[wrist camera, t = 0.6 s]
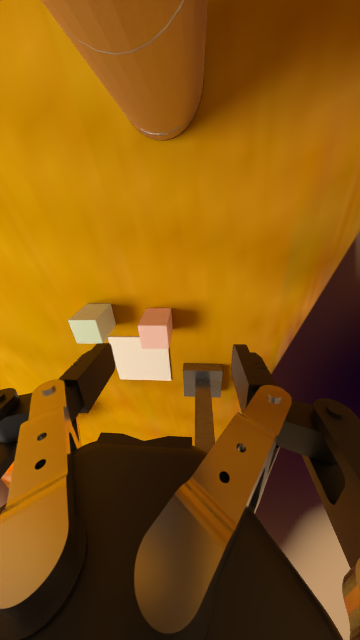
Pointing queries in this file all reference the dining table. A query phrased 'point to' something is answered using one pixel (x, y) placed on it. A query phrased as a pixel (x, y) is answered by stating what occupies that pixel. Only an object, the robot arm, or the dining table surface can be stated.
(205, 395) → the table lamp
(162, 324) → the block
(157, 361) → the plate
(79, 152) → the dining table surface
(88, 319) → the pale green rectangular block
